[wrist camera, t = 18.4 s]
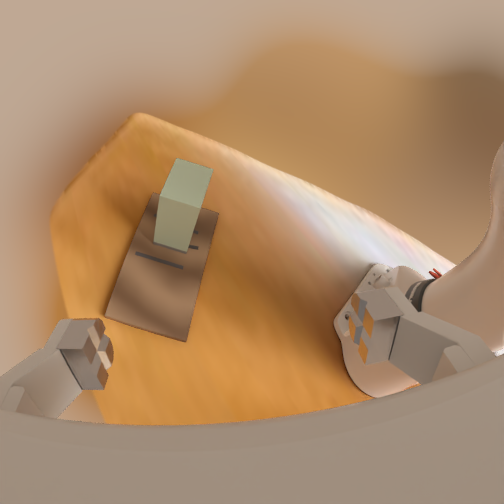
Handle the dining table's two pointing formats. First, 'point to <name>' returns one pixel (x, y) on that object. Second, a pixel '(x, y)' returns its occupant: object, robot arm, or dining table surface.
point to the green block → (180, 204)
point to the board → (161, 278)
